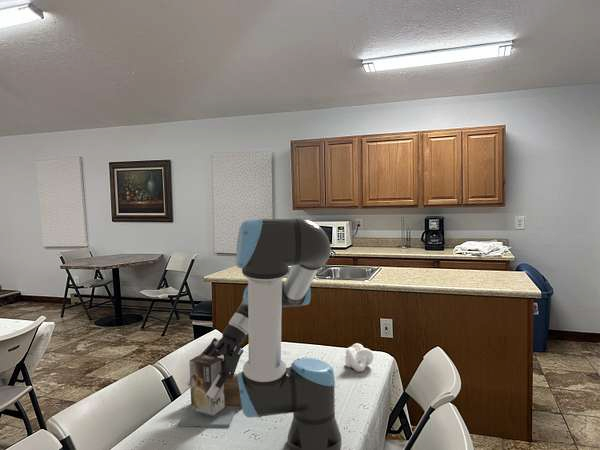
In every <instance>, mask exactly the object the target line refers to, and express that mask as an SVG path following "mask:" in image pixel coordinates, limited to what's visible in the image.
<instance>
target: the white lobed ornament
mask: <svg viewBox="0 0 600 450" xmlns="http://www.w3.org/2000/svg"><path fill="white" fill-rule="evenodd" d="M374 358H375V357H374V353H373V351H372V350H371V349H369V348H366V347H364V346H363V345H362V344H361V343H357V342H356V343H354V344H352V345H351V346H349V347H347V348H346V350H345V360H344V363H345V366H346V367H348V368H349V369H350V368H351V369H353V370H355V371H356V372H358V373H361V372H363V371H365V369H366V367H367V366H370V364H372V362H373V361H374Z"/></svg>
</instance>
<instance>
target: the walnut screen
mask: <svg viewBox="0 0 600 450" xmlns="http://www.w3.org/2000/svg"><path fill="white" fill-rule="evenodd" d="M237 375H238V373H234V376H233V378H232V379H230V378H228V379H226V380H225V382H224V404H225V406H242V404H241V397H240V390H239V384H238V376H237Z"/></svg>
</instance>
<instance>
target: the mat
mask: <svg viewBox="0 0 600 450" xmlns="http://www.w3.org/2000/svg"><path fill="white" fill-rule="evenodd" d="M236 411H237V406H225V407H224V408H223V409H221V410H220V411H219V412H217V413H216V414H214V415H210V414H206V413H203V412H199V411H195V410H192V409H191V405H190V406H188V407H187V408H186V410H185V412H184V413H183V415H182V416H181V418H180V419H179V421H178V422H177V427H178V426H203V427H202V428H229V427H230V426H231V424H232V421H233V418H234V417H235V413H236Z"/></svg>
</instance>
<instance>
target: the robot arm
mask: <svg viewBox="0 0 600 450" xmlns="http://www.w3.org/2000/svg"><path fill="white" fill-rule="evenodd" d="M239 226H240V227H239V230H238V235H237V243H236V253H235V256H236V257H235V264H236V267H237V268H239V269H241V274H242V275H243V276H244V277H245V278H246V280H247V284H248V285H247V286H246V287H245V289H244V291H243V295H242V301H241V303H240V305H239V306H238V307H237V309H236V311H235V312H234V314H233V315H232V317H231V318H230V319H229V322H228V324H227V325H226V326H225V329H224V330H223V331H222V334H221V335H222V337H221V338H220V339H217V338H216V337H214V338H213V339H212V340H211V342H210V344H209V345H207V347H206V348H205V349H204V350H203V351H202V352H201V353H200V355H201V354H204V355H209V356H214V357H221V356H223V364H222V370H221V373H219V374H220V375H221V376H220V375H218V376H217V377H216V379H215V381H214V382H213V384H212V385H211V387H210V389H209V390H208V392H207V394H206V395H208V396H209V397H211V398H212V399H213V398H214V396H215V395H216V393H217V391H218V390H219V388H221V387H222V385H223V383H224V382H225V380H226V379H228V378H230V379H232V378H233V376H234V374H236V370H237V367H238V365H239V362H240V358H241V356H242V354H243V353H244V349H243V348H241V345H242V344H243V342H244V341H245V340H246V338H247V335H248V360H247V361H246V362H245V363H244V364H243V366H242V371H241V372H238V373H237V374H238V375H237V376H238V384H239V390H240V397H241V404H242V405H241V408H242V413H243V415H244V416H245V417H246V418H262V417H267V416H268V417H269V416H276V415H284V414H293V418H292V421H291V423H290V427H289V429H288V430H289V431H288V433H287V447H288V450H341V448H342V433H341V431H340V427H339V425H338V423H337V419H336V414H335V413H336V411H335V409H336V408H335V407H336V405H335V403H336V401H335V385H336V381H335V380H336V379H335V371H334V369H333V366H331V364H329V363H328V362H326V361H324V360H321V359H318V358H313V357H312V358H311V357H300V358H297V359H298V360H297V359H294V360H293V362H292V363H293V364H292V363H291V365H292V367H291V366H290V367H287V364H286V363H285V362H284V361H283V360H282V355H281V354H282V313H283V311H282V308H287V307H301V306H308V305H309V304H310V302H311V299H312V298H311V297H312V293H311V285H312V283H313V281H314V279H315V277H316V276H317V273H318V272H319V270H321V269H322V268H323V267H325V266H326V264H327V262H328V261H329V259H330V256H331V250H332V248H331V242H330V239H329V237H328V235H327V233H326V232H325V231H324V230H323V229H322V228H321V226H319V225H318V224H317V223H315V222H313V221H311V220H309V219H305V218H262V219H261V218H258V219H252V220H251V219H250V220H249V219H248V220H245V221H243V222H242V223H241V225H239ZM289 266H290V268H289ZM286 276H287V277H286ZM284 278H286V280H285V282H284V283H283V279H284ZM186 385H187V386H188V387H190V378H189V379H188V380H187V382H186Z"/></svg>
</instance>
